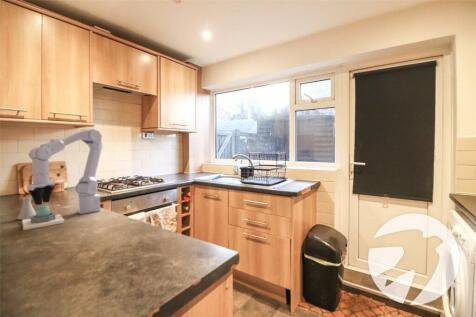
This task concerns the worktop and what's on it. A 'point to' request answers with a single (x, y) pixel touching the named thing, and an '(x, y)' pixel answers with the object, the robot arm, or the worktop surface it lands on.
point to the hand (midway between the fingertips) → (42, 203)
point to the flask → (26, 209)
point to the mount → (42, 221)
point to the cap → (42, 211)
